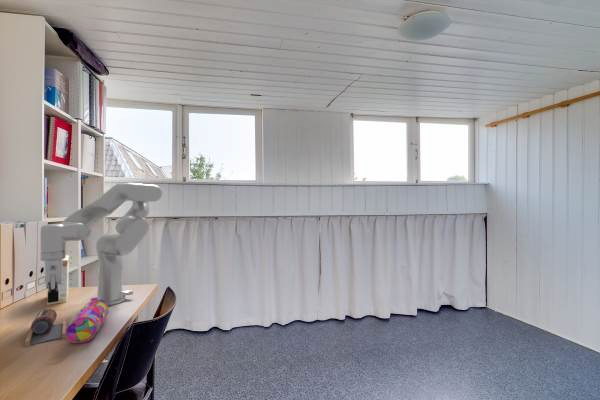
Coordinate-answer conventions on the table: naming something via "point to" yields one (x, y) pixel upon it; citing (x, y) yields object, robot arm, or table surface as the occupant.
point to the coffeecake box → (64, 286)
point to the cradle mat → (47, 334)
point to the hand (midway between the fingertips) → (53, 301)
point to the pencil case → (87, 321)
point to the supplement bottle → (44, 321)
